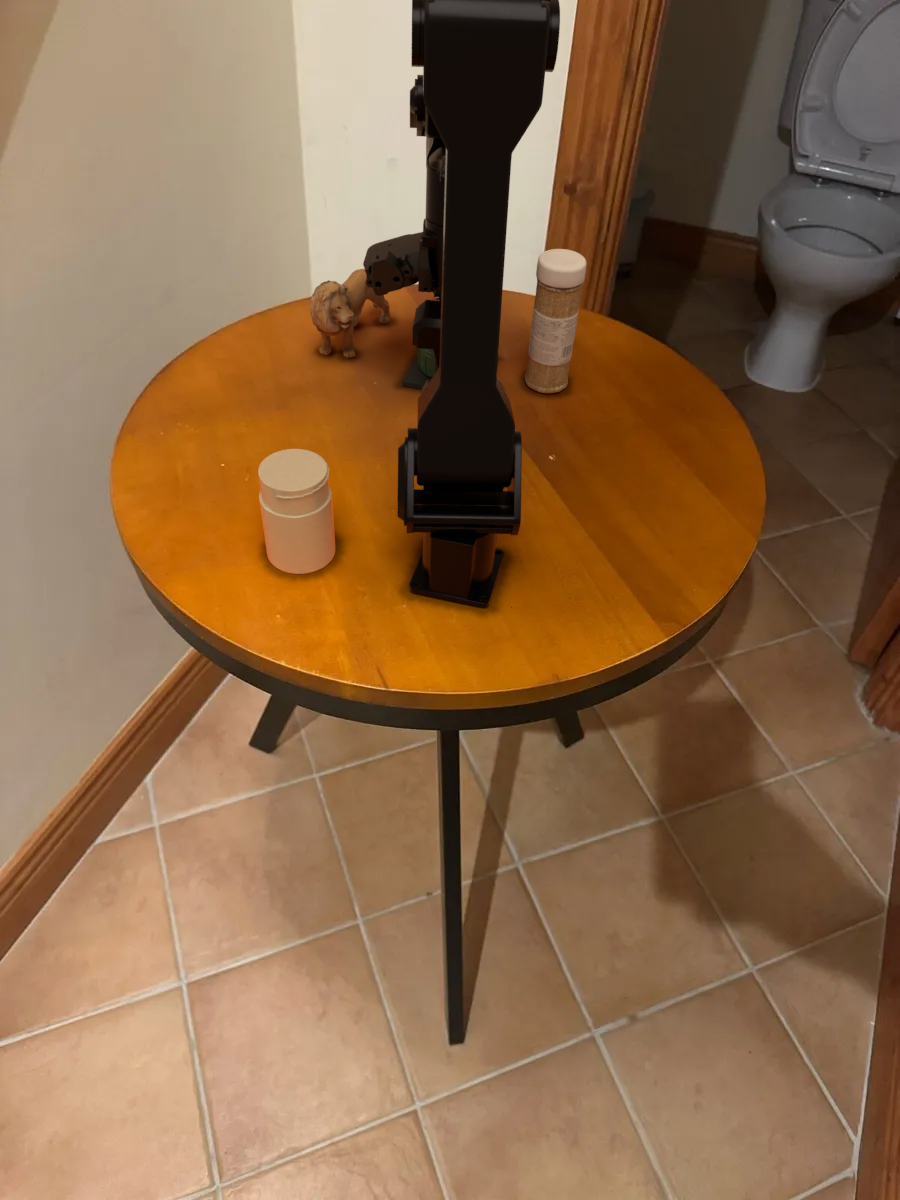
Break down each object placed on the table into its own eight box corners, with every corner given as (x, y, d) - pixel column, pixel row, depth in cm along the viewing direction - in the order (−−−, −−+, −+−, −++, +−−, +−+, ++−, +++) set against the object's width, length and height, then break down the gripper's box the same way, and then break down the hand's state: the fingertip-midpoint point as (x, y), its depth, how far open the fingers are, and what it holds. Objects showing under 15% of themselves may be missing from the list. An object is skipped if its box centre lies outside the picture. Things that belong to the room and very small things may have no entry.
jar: (322, 580, 72) (315, 498, 66) (256, 566, 73) (243, 484, 67) (344, 535, 76) (340, 454, 70) (282, 522, 77) (272, 441, 71)
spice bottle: (546, 367, 96) (563, 242, 86) (576, 386, 93) (597, 260, 84) (514, 380, 94) (528, 254, 84) (544, 400, 91) (562, 273, 81)
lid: (409, 374, 92) (410, 351, 90) (427, 343, 96) (427, 320, 94) (472, 386, 91) (473, 362, 89) (486, 353, 95) (488, 330, 93)
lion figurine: (351, 379, 92) (348, 297, 86) (303, 370, 93) (296, 287, 87) (397, 312, 102) (397, 234, 96) (353, 304, 103) (350, 226, 97)
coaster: (478, 399, 91) (478, 394, 90) (401, 386, 92) (401, 381, 92) (495, 359, 96) (495, 354, 96) (422, 346, 97) (422, 341, 97)
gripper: (381, 170, 89) (383, 316, 100) (353, 255, 76) (359, 412, 87) (494, 178, 89) (483, 324, 100) (485, 265, 76) (474, 421, 87)
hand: (449, 366), depth 94 cm, fingers closed on lid, 6 cm apart
